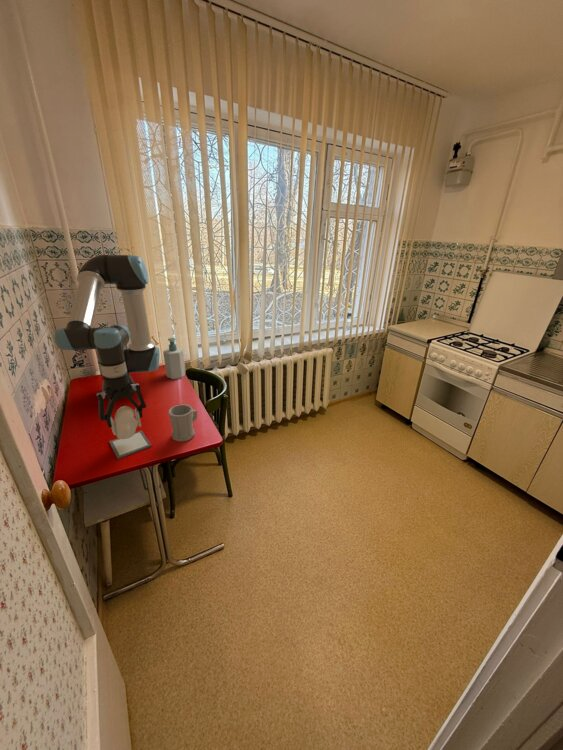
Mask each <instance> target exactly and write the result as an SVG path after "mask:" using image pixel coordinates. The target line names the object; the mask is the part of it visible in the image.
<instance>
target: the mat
mask: <svg viewBox="0 0 563 750" xmlns="http://www.w3.org/2000/svg"><path fill="white" fill-rule="evenodd" d="M108 442H109V445H110V446H111V448H112V451H113V453H114V454H115V457H116V459H117V460H120V459H123V458H126V457H127V456H130V455H132V454H136V453H138V452H141V451H143V450H146V449H149V448H151V447H153V446H152V444H151V441H149V439H148V438H147V436H146V435H145V433H144V432H143V430H139V431H135V434H134V435H133V436H132V437H130V438H128V439H119V438H118V437H117V438H115V439H112V440H109V441H108Z"/></svg>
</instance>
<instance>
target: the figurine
mask: <svg viewBox="0 0 563 750" xmlns="http://www.w3.org/2000/svg"><path fill="white" fill-rule="evenodd" d="M113 422H114V426H115V430H116V434H117V435H116V437H117V438H119V439H128V438H130V437H132V436H133V435H134V434H135V432H137V429H138V420H137V419H136V417H135V410H134V409H133V408H132V407H130V406H127V405H124V406H120V407H119V408H118V409H117V410H116V412H115V414H114V419H113Z"/></svg>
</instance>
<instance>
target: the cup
mask: <svg viewBox="0 0 563 750" xmlns="http://www.w3.org/2000/svg"><path fill="white" fill-rule="evenodd" d="M168 415H169V420H170V423H171V431H172V432H171V437H172V440H174V441H176V442H187V441H190V440H191V439H192V438H194V437H195V432H196V431H195V429H194V424H193V423H194V422H195V421H197V418H198V411H197V410H196V409H193V407H192V406H191V405H189V404H183V403H182V404H177V405H174V406H172V407H171V408H169V410H168Z"/></svg>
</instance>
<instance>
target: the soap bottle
mask: <svg viewBox="0 0 563 750" xmlns="http://www.w3.org/2000/svg"><path fill="white" fill-rule="evenodd" d="M167 340H168V342H169V344H168V347H167V348H166V349H164V350H163V351H162V353H163V359H164V360H163V361H164V367H165V368H164V369H165V374H166V377H167V378H169V379H171V380H177V379H182V378H184V376H185V375H186V367H185V358H184V356H185V355H184V349H183V348H180V347H179V346H178V347H177V344H176V343H175V341H176V338H175V337H168V339H167Z"/></svg>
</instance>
